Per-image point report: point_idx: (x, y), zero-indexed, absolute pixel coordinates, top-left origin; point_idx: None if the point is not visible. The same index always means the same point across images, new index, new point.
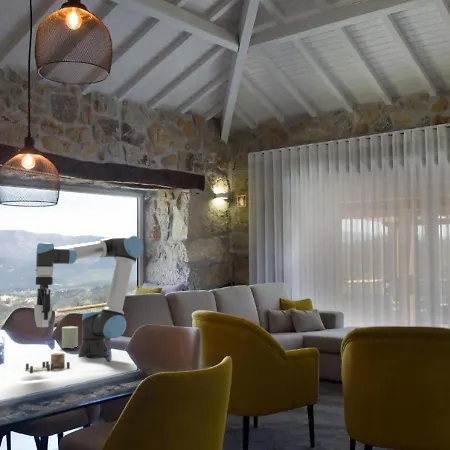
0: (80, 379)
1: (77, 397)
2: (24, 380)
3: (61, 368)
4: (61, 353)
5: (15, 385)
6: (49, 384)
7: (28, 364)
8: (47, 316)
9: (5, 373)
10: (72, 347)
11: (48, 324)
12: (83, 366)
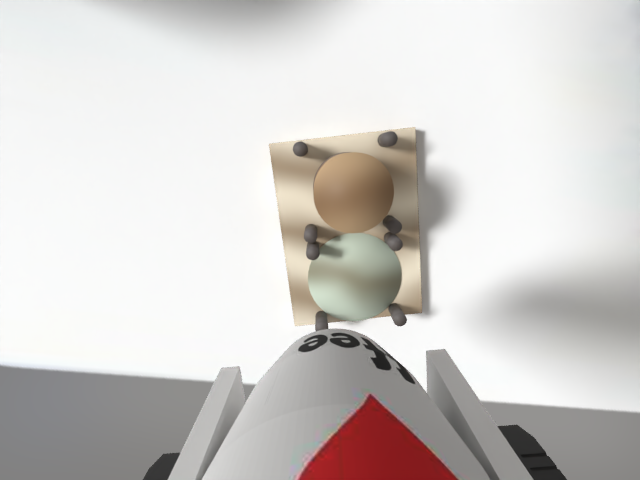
0: (620, 133)
1: None
2: (485, 338)
3: None
4: (339, 168)
5: (552, 373)
6: (621, 268)
7: (325, 322)
8: (557, 472)
9: None
10: None
11: (383, 349)
12: (316, 39)
